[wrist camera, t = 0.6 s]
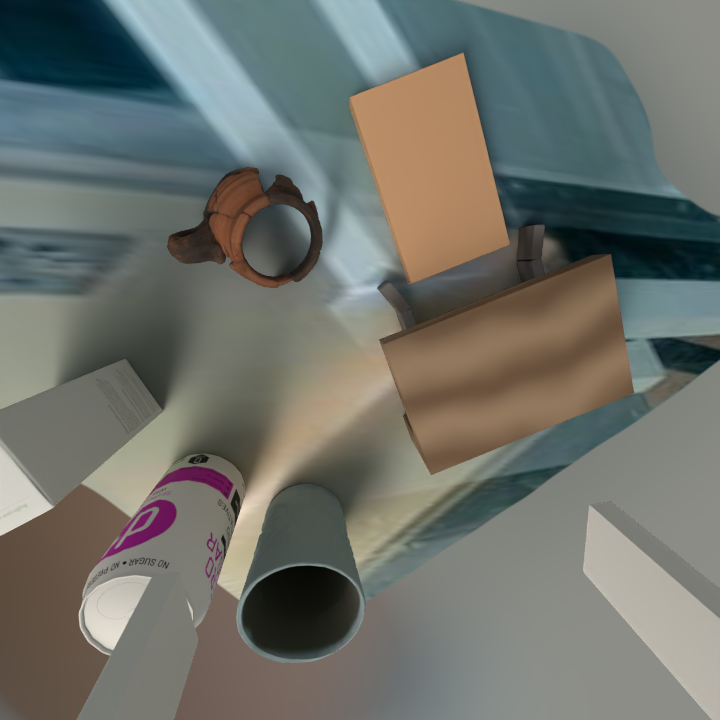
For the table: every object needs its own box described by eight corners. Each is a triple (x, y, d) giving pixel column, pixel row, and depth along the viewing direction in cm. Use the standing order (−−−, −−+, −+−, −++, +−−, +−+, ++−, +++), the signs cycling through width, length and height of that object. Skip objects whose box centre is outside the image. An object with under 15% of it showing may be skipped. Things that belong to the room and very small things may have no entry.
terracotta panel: (348, 107, 31) (349, 97, 29) (454, 65, 31) (463, 52, 29) (406, 282, 36) (411, 283, 34) (499, 245, 36) (510, 244, 34)
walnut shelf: (356, 292, 35) (366, 297, 28) (547, 216, 35) (602, 204, 28) (411, 439, 39) (431, 474, 32) (580, 371, 39) (633, 393, 33)
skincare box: (92, 447, 35) (-74, 579, 20) (47, 391, 34) (-171, 491, 19) (167, 409, 35) (56, 513, 20) (127, 351, 34) (-28, 418, 19)
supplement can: (149, 471, 37) (39, 603, 22) (222, 437, 37) (160, 547, 22) (191, 530, 39) (116, 685, 24) (260, 498, 39) (226, 634, 24)
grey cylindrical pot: (241, 511, 39) (208, 613, 27) (315, 458, 38) (315, 539, 27) (298, 568, 42) (291, 684, 30) (369, 520, 41) (389, 618, 30)
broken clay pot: (278, 147, 31) (315, 159, 25) (308, 248, 38) (343, 276, 32) (139, 192, 28) (144, 218, 22) (196, 293, 35) (213, 334, 29)
